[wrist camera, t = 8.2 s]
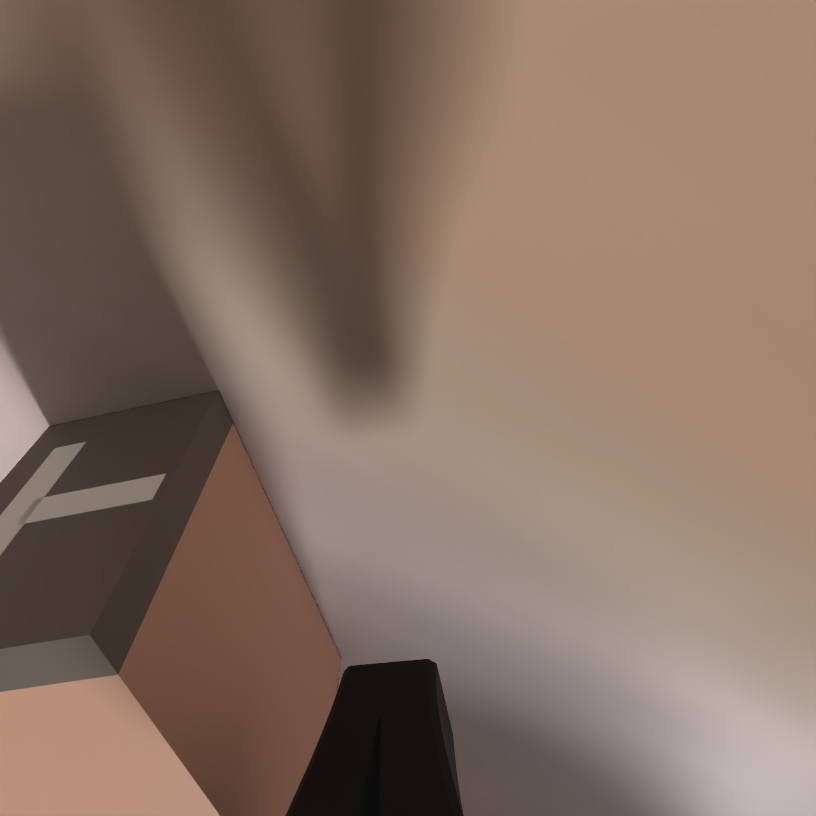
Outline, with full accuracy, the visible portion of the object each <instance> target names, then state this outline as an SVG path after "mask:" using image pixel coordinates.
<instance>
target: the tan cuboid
mask: <svg viewBox="0 0 816 816" xmlns="http://www.w3.org/2000/svg"><path fill="white" fill-rule="evenodd" d="M340 664H341V657H340V655H339V653H338V651H337V648H336V646H335V644H334V642H333V640H332V637H331V635H330V633H329V631H328V629H327V627H326V624H325V622H324V620H323V618H322V616H321V613H320V611H319V609H318V607H317V605H316V602H315V600H314V598H313V596H312V594H311V592H310V589H309V587H308V585H307V583H306V581H305V578H304V576H303V574H302V572H301V570H300V567H299V565H298V563H297V561H296V559H295V557H294V554H293V552H292V550H291V548H290V546H289V543H288V541H287V539H286V537H285V535H284V533H283V530H282V528H281V526H280V524H279V522H278V519H277V517H276V515H275V513H274V511H273V508H272V506H271V504H270V502H269V500H268V498H267V495H266V493H265V491H264V489H263V487H262V484H261V482H260V480H259V478H258V476H257V474H256V471H255V469H254V467H253V465H252V463H251V460H250V458H249V456H248V454H247V452H246V449H245V447H244V445H243V443H242V441H241V439H240V436H239V434H238V432H237V430H236V428H235V425H234V423H233V421H232V419H231V417H230V414H229V412H228V410H227V408H226V406H225V404H224V401H223V399H222V397H221V395H220V393H219V391H214V392H210V393H205V394H200V395H195V396H191V397H186V398H181V399H177V400H172V401H167V402H162V403H158V404H153V405H148V406H144V407H139V408H134V409H129V410H125V411H120V412H115V413H111V414H106V415H101V416H97V417H92V418H87V419H82V420H78V421H73V422H68V423H64V424H59V425H54V426H49V427H48V429H47V430H46V431H45V432H44V433H43V434H42V435H41V437H40V438H39V439H38V440H37V441H36V442H35V444H34V445H33V446H32V447H31V448H30V449H29V451H28V452H27V453H26V454H25V455H24V456H23V457H22V459H21V460H20V461H19V462H18V463H17V464H16V466H15V467H14V468H13V469H12V470H11V471H10V472H9V474H8V475H7V476H6V477H5V478H4V479H3V481H2V482H1V483H0V816H285V815H286V813H287V811H288V809H289V807H290V804H291V802H292V800H293V798H294V796H295V793H296V791H297V789H298V787H299V785H300V782H301V780H302V778H303V776H304V773H305V771H306V769H307V767H308V765H309V762H310V760H311V758H312V755H313V753H314V750H315V748H316V746H317V743H318V741H319V738H320V736H321V733H322V731H323V728H324V726H325V723H326V721H327V718H328V716H329V713H330V710H331V708H332V705H333V702H334V700H335V697H336V693H337V686H338V679H339V672H340Z"/></svg>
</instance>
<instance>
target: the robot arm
mask: <svg viewBox="0 0 816 816" xmlns="http://www.w3.org/2000/svg"><path fill="white" fill-rule="evenodd" d="M285 816H463V810H462V805H461V799H460V793H459V786H458V779H457V771H456V763H455V753H454V742H453V733H452V729H451V725H450V720H449V716H448V712H447V707H446V703H445V699H444V694H443V690H442V686H441V681H440V677H439V673H438V668H437V664H436V663H434V662H433V661H431V660H429V659H423V660H411V661H400V662H389V663H377V664H366V665H355V666H349V667H348V668H347V669H346V670H345V671H344V673H343V676H342V679H341V682H340V685H339V688H338V691H337V694H336V697H335V700H334V702H333V705H332V708H331V710H330V713H329V716H328V718H327V721H326V723H325V726H324V728H323V731H322V733H321V736H320V738H319V741H318V743H317V746H316V748H315V750H314V753H313V755H312V758H311V760H310V762H309V765H308V767H307V769H306V771H305V773H304V776H303V778H302V780H301V782H300V785H299V787H298V789H297V791H296V793H295V796H294V798H293V800H292V802H291V804H290V807H289V809H288V811H287V813H286V815H285Z"/></svg>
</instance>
